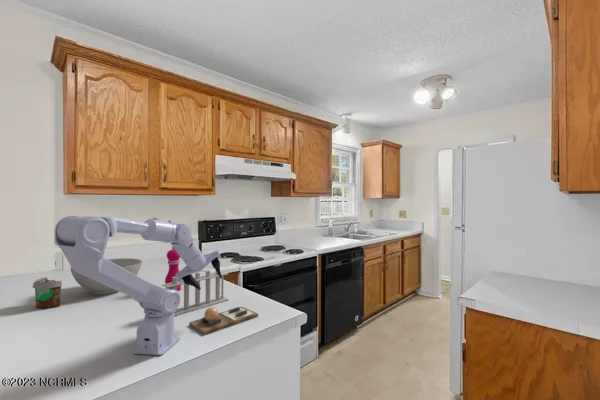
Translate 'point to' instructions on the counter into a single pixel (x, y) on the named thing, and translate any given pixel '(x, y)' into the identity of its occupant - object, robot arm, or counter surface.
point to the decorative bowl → (100, 288)
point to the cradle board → (223, 320)
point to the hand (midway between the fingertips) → (209, 281)
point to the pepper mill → (172, 267)
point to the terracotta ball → (211, 314)
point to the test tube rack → (197, 292)
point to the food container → (47, 293)
